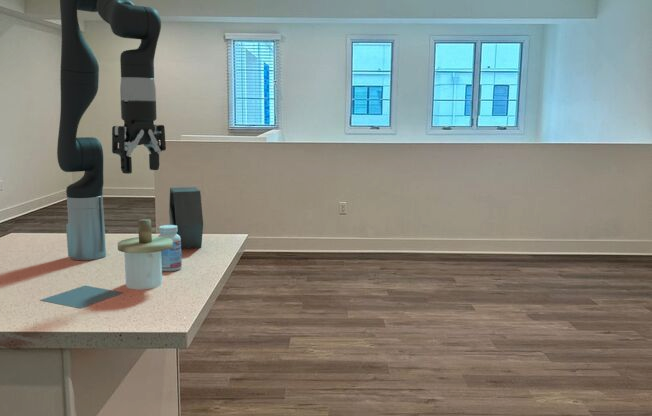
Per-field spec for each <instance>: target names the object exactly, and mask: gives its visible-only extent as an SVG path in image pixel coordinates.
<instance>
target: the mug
mask: <svg viewBox="0 0 652 416" xmlns="http://www.w3.org/2000/svg"><path fill="white" fill-rule="evenodd" d="M123 253H124V271H125V287H126V288H128V289H130V290H148V289H149V290H150V289H154V288H155V289H156V288H158V287H160V286H162V285H163V271H162V260H161V251H159V252H152V253H126V252H123Z"/></svg>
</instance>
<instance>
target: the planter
mask: <svg viewBox="0 0 652 416" xmlns="http://www.w3.org/2000/svg"><path fill="white" fill-rule="evenodd" d="M201 193H202V192H201V190H200V189H199V188H198V187H196V186H188V187H187V186H183V187H181V186H180V187H170V188H169V205H168V209H169V210H168V213H169V225H176V226H177V229H178V231H177V234H178V235H179V236H180V238H181V250H184V249H185V250H186V249H196V248H198V249H199V248H202V245H203V243H202V242H203V233H204V232H203V231H204V219H203V218H204V217H203V206H202V194H201Z"/></svg>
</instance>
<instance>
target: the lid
mask: <svg viewBox="0 0 652 416" xmlns="http://www.w3.org/2000/svg"><path fill="white" fill-rule="evenodd" d="M137 226H138V228H137V230H138V237H130V238H126V239H122V240H120V241H118V242H117V250H118V251H119V252H122V253H124V252H126V253H152V252H159V251H164V250H167V249H170V248H172V247H173V240H172V239H170V238H166V237H158V236H153V234H152V220H151V219H150V218H143V219H138V220H137Z"/></svg>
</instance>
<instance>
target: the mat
mask: <svg viewBox="0 0 652 416" xmlns="http://www.w3.org/2000/svg"><path fill="white" fill-rule="evenodd" d="M122 294H125V292H124V291H118V290H112V289H107V288H102V287H96V286H90V285H82V286H80V287H76V288H73V289H70V290H66V291H64V292H60V293H56V294H53V295H51V296H48V297H45V298H42V299H39V301H42V302H44V303H45V302H47V303H51V304H56V305H59V306H60V305H61V306H65V307H71V308H74V309H79V310H80V309H83V308H87V307H89V306H92V305H94V304H97V303H99V302H104V301H106V300H108V299H112V298H113V297H117V296H120V295H122Z"/></svg>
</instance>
